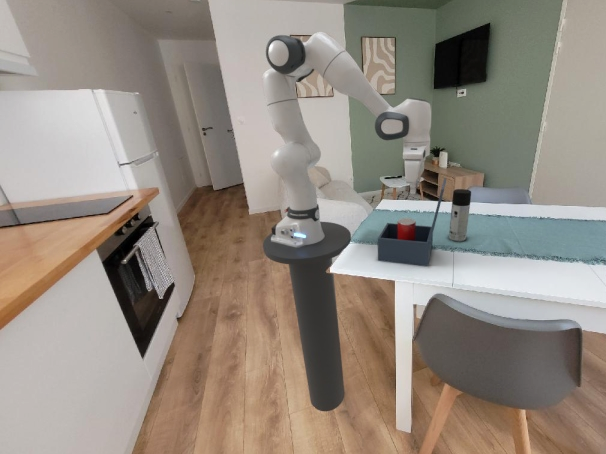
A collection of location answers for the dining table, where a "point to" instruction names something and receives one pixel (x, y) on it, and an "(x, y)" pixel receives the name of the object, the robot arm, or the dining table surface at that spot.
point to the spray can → (459, 214)
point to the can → (406, 229)
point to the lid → (437, 209)
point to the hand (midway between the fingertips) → (415, 189)
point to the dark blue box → (405, 246)
